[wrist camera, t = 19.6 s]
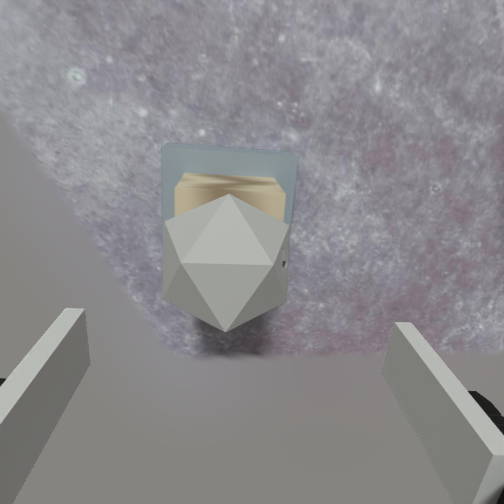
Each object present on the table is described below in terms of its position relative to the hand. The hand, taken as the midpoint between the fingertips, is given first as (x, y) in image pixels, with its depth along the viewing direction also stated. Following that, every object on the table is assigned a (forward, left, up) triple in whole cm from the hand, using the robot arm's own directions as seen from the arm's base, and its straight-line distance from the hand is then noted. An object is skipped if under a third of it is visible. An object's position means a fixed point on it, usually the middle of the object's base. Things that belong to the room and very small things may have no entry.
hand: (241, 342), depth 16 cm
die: (+1, 0, -13) cm, 13 cm away
